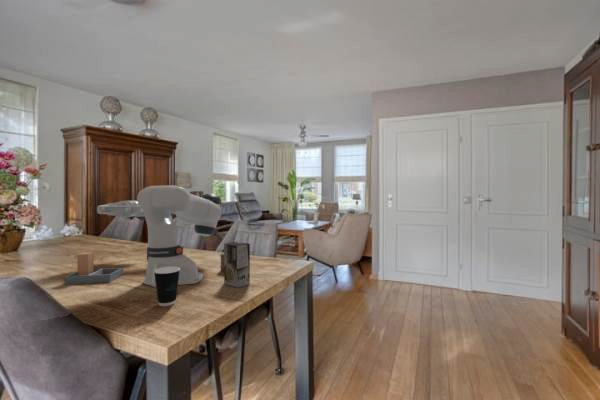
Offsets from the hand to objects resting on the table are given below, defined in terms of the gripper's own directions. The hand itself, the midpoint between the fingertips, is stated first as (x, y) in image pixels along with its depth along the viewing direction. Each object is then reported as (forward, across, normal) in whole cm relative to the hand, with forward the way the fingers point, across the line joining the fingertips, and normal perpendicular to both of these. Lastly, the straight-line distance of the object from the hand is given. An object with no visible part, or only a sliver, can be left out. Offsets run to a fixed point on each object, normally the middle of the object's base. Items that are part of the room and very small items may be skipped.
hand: (113, 210), depth 139 cm
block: (+19, +3, -27) cm, 33 cm away
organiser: (+19, -1, -28) cm, 34 cm away
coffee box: (+34, -60, -29) cm, 75 cm away
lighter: (+13, -55, -29) cm, 63 cm away
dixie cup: (+52, -39, -29) cm, 71 cm away
